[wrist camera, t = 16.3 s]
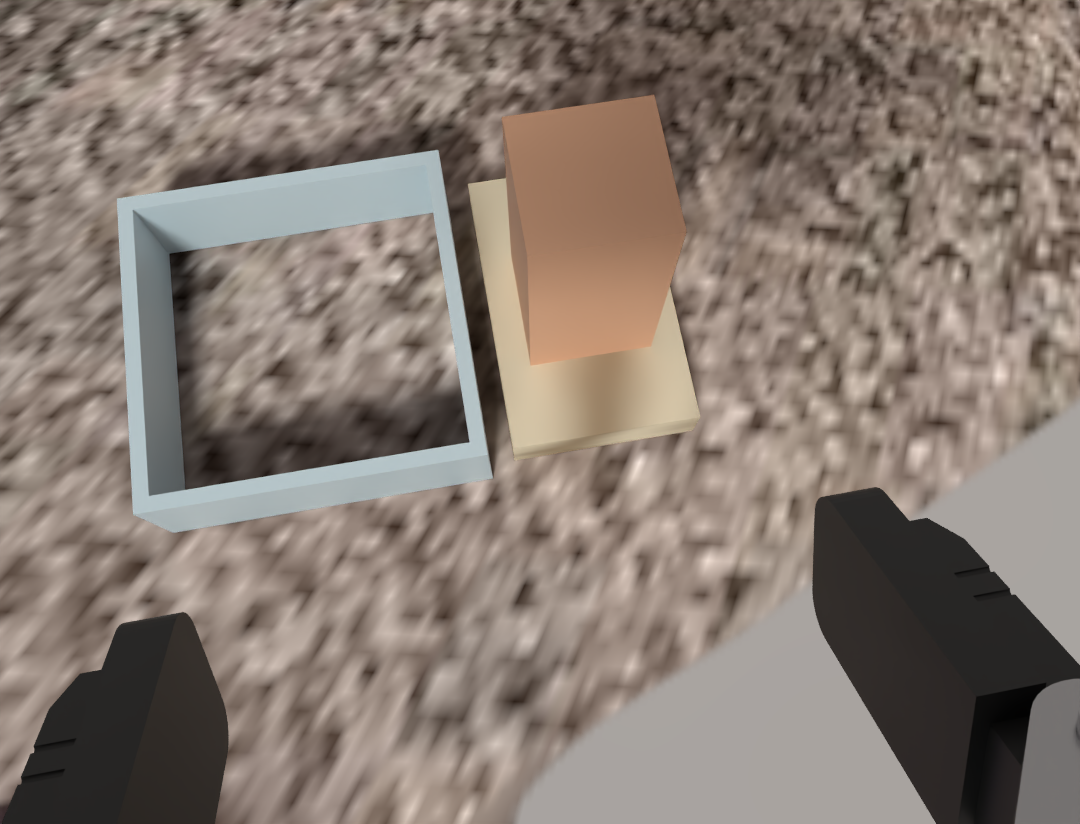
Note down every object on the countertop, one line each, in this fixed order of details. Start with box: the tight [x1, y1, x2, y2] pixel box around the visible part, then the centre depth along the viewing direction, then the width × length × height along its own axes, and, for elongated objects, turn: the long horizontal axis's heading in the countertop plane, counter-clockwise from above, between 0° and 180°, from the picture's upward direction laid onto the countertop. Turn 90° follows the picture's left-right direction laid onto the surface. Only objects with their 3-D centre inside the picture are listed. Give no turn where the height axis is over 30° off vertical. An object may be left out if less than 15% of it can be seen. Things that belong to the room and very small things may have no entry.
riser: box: [468, 178, 700, 461], centre depth 41 cm, size 8×12×2 cm, turn 10°
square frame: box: [117, 150, 493, 533], centre depth 39 cm, size 13×13×4 cm
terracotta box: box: [502, 95, 687, 366], centre depth 35 cm, size 5×5×10 cm
